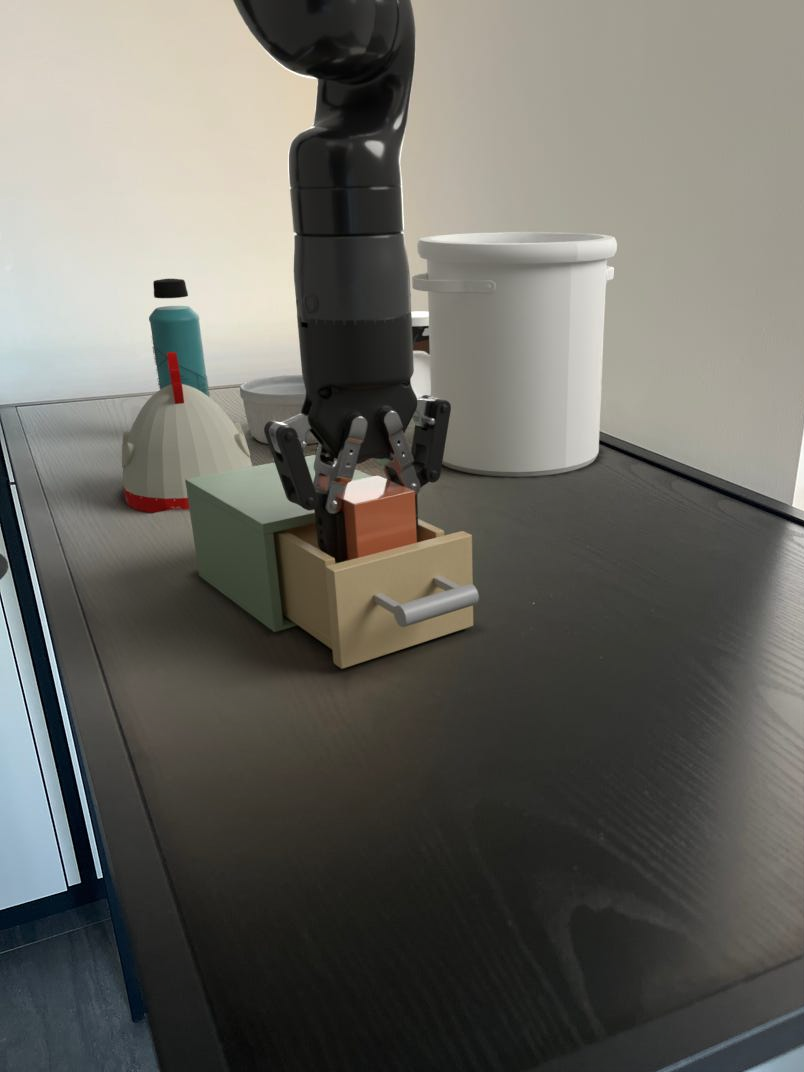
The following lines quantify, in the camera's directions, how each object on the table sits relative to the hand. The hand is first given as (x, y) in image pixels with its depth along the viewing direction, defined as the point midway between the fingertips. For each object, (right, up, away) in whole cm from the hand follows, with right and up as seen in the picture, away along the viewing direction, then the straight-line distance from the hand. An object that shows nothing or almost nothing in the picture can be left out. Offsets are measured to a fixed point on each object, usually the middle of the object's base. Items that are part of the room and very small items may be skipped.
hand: (369, 549), depth 71 cm
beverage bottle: (-31, +21, +59) cm, 70 cm away
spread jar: (-1, +33, +84) cm, 90 cm away
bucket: (+12, +16, +48) cm, 52 cm away
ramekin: (-17, +20, +59) cm, 65 cm away
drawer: (0, -6, +2) cm, 6 cm away
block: (0, 0, 0) cm, 0 cm away
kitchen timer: (-24, +9, +36) cm, 44 cm away
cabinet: (-7, -2, +11) cm, 13 cm away
